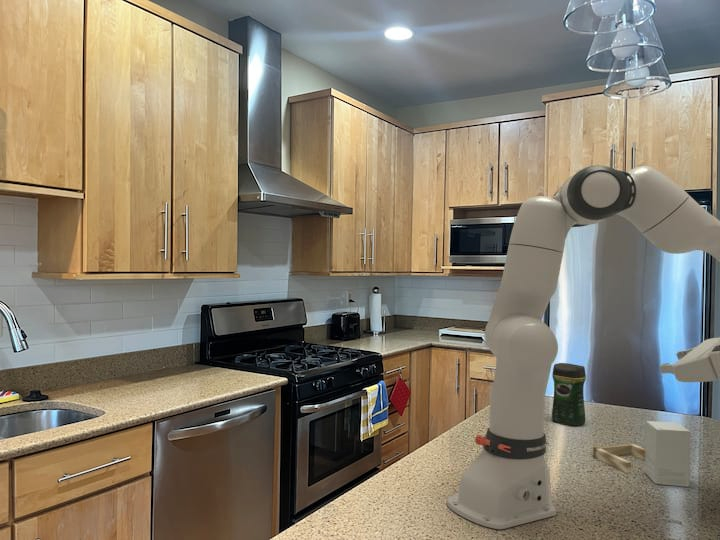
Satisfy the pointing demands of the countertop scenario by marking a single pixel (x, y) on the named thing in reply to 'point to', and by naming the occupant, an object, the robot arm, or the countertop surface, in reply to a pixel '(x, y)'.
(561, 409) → the coffee jar
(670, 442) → the supplement box
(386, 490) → the countertop surface
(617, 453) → the corral
